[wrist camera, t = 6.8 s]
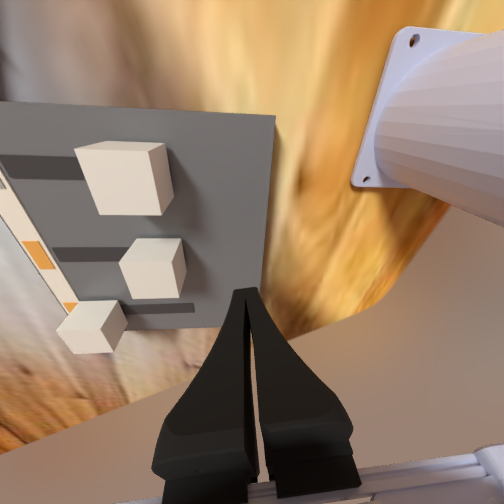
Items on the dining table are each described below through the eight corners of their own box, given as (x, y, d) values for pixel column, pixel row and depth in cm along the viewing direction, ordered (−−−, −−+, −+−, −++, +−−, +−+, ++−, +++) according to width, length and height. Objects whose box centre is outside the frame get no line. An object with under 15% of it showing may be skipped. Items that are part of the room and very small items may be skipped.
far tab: (117, 300, 18) (100, 329, 15) (128, 323, 19) (113, 352, 17) (79, 301, 17) (55, 330, 15) (93, 324, 19) (74, 354, 17)
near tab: (165, 143, 11) (147, 151, 9) (174, 196, 13) (161, 215, 11) (106, 140, 11) (73, 148, 9) (123, 195, 13) (99, 214, 10)
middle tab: (181, 238, 15) (171, 262, 12) (186, 271, 16) (179, 297, 14) (136, 238, 14) (118, 262, 12) (147, 271, 16) (132, 299, 14)
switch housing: (271, 115, 13) (276, 115, 11) (255, 313, 23) (257, 327, 21) (-47, 98, 11) (-86, 96, 10) (88, 319, 21) (78, 334, 20)
